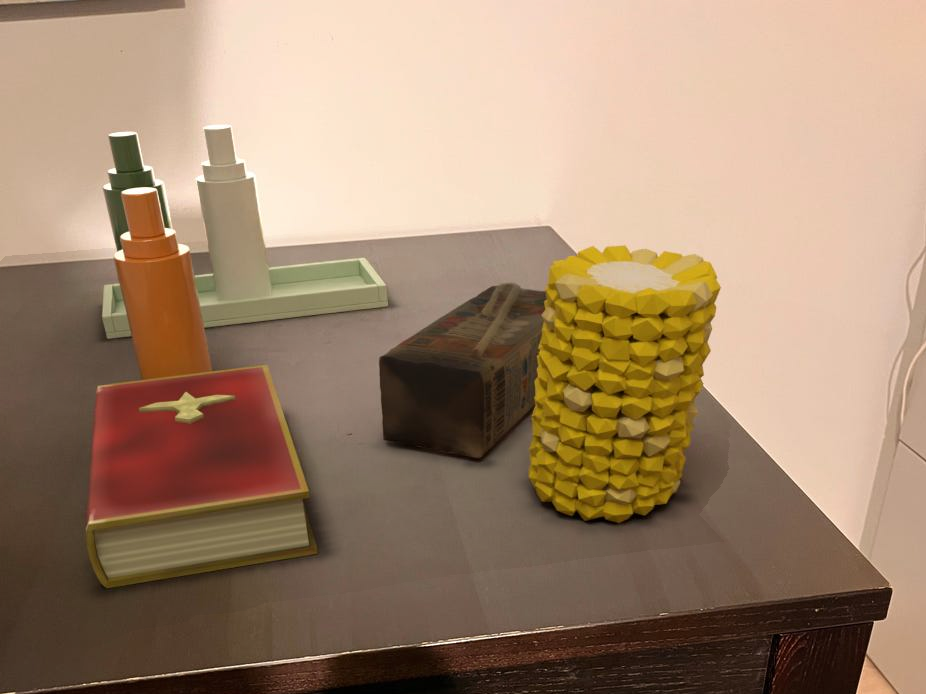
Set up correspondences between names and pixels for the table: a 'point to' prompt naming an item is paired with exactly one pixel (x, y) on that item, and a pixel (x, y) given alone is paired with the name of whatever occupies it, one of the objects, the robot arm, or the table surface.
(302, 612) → the table surface
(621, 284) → the food
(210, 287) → the tray
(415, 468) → the table surface
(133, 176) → the green bottle
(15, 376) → the table surface
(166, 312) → the amber bottle
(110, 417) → the hardcover book
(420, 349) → the beverage carton
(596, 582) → the table surface
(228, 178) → the frosted bottle
